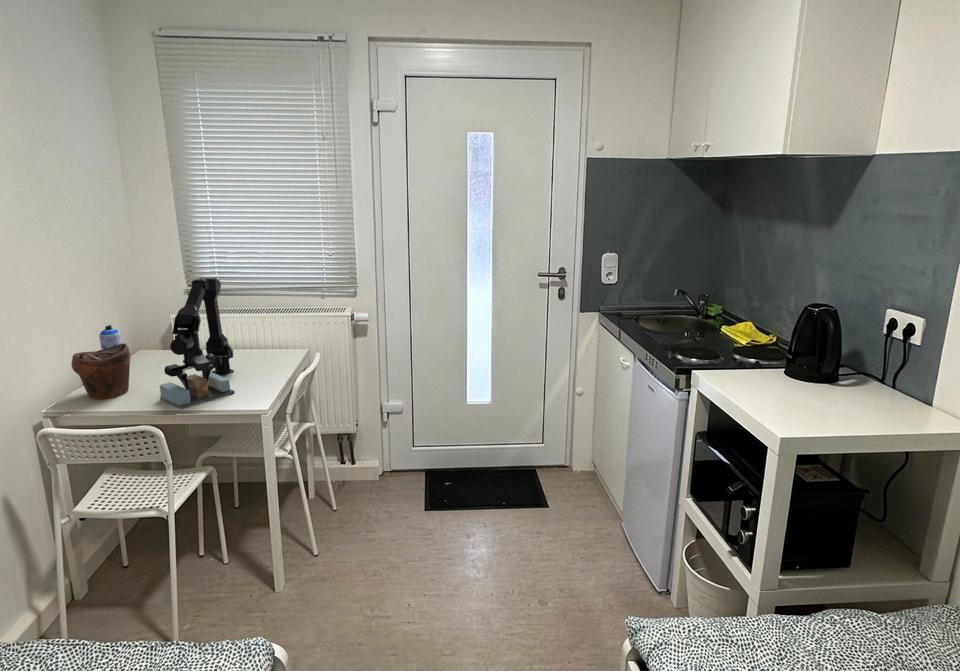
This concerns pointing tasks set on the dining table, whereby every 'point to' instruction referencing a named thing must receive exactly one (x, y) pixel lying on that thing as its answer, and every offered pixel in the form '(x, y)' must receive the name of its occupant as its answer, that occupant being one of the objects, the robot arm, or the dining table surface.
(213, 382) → the moving jaw
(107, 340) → the aerosol can
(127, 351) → the brown tapered container
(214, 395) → the vise bed
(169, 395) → the block
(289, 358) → the dining table surface
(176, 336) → the robot arm
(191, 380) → the walnut block
